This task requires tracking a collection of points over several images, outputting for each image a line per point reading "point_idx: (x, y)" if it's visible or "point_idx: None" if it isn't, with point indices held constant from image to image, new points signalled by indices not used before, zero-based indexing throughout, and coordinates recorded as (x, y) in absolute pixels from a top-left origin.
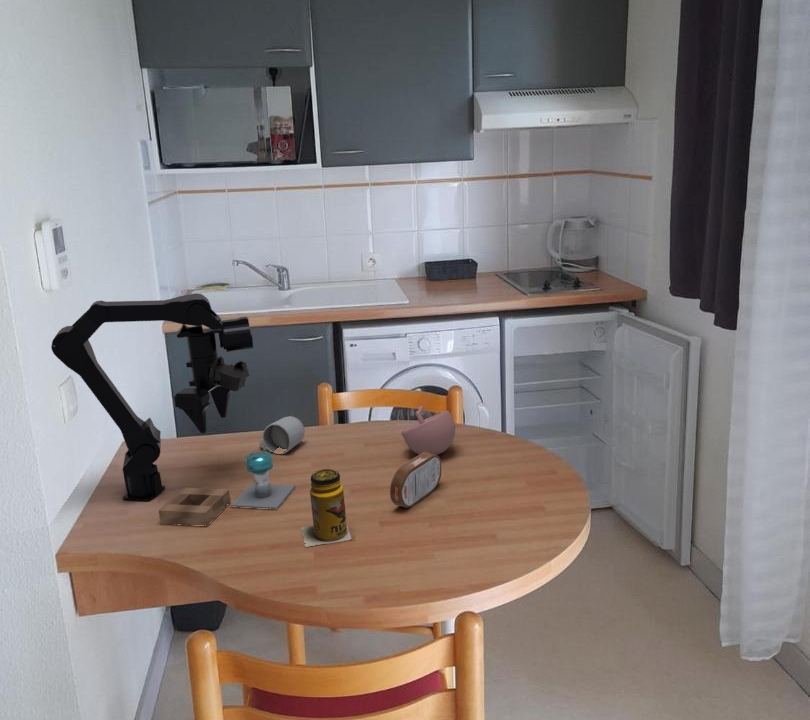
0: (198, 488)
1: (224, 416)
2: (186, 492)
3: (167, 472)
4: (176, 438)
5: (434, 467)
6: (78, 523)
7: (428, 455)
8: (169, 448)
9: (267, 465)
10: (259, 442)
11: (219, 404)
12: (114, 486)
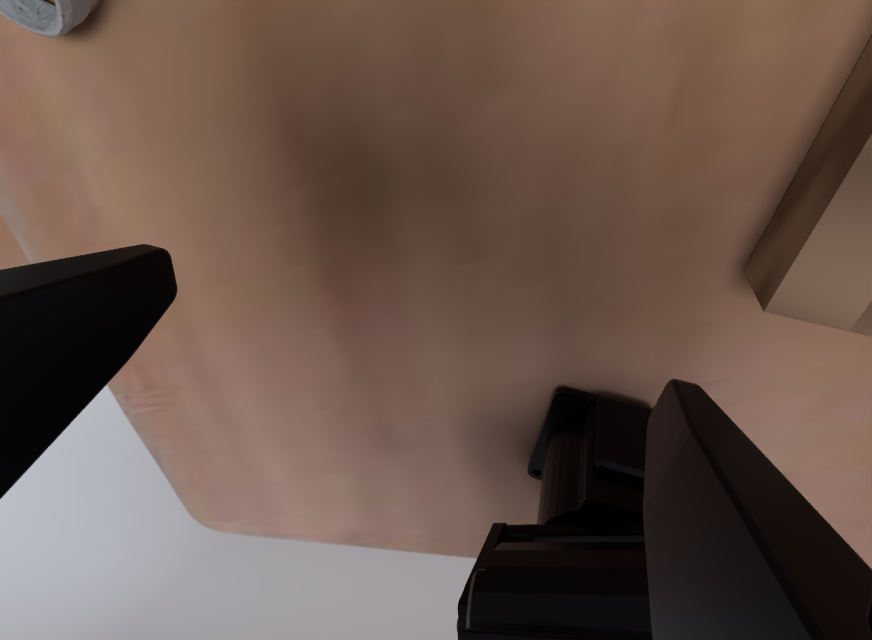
0: (818, 224)
1: (161, 259)
2: (857, 285)
3: (399, 401)
4: (127, 416)
5: None
6: None
7: None
8: (203, 424)
9: None
10: (61, 26)
11: (31, 393)
12: None
